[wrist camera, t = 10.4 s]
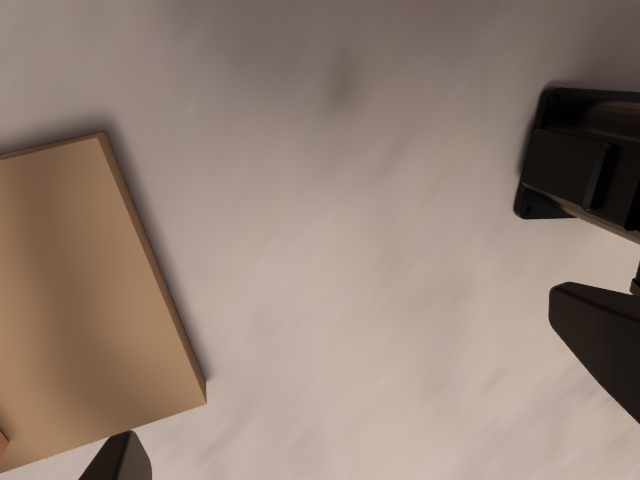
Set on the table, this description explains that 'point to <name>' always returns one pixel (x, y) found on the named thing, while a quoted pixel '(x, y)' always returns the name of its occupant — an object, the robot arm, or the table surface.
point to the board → (82, 307)
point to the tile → (3, 445)
